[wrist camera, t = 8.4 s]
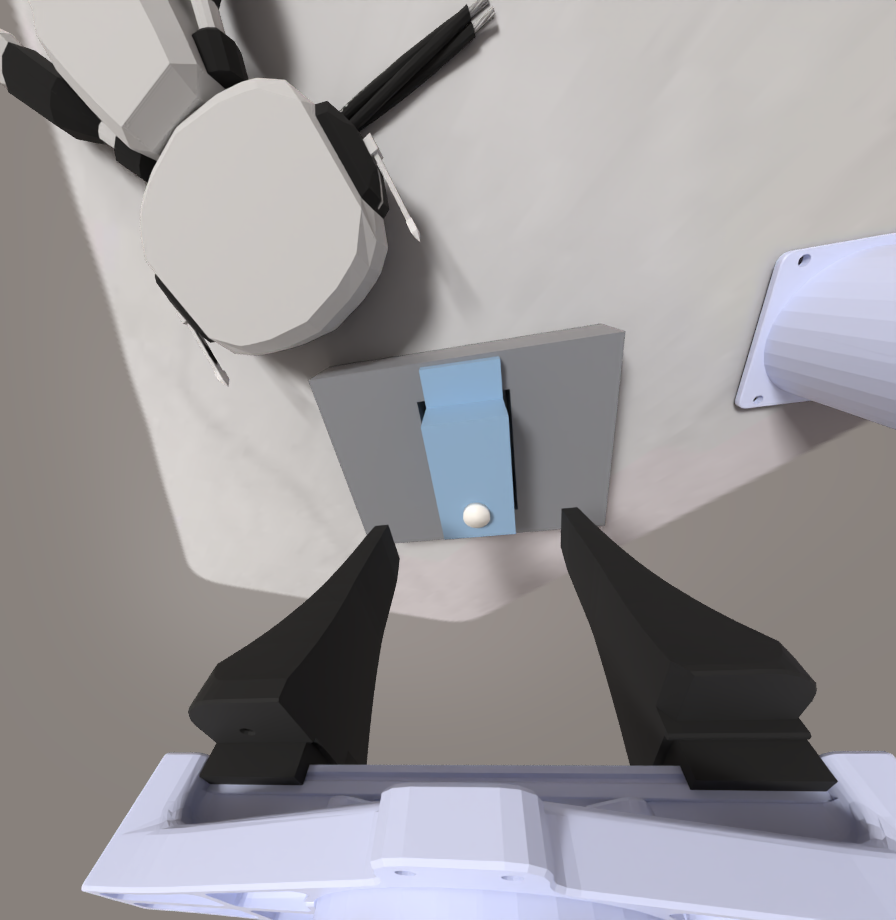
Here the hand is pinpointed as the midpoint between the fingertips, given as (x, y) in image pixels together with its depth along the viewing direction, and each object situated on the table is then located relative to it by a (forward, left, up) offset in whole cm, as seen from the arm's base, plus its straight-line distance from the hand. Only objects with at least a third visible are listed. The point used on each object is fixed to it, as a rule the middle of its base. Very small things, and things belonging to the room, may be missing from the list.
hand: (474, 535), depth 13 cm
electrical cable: (+3, -16, -10) cm, 19 cm away
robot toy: (+9, -15, -10) cm, 20 cm away
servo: (0, 0, -9) cm, 9 cm away
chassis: (0, 0, -9) cm, 9 cm away
